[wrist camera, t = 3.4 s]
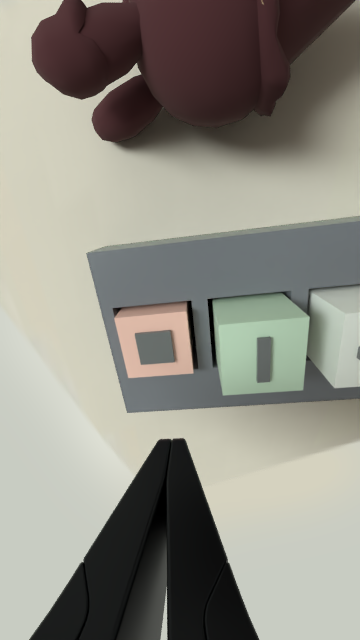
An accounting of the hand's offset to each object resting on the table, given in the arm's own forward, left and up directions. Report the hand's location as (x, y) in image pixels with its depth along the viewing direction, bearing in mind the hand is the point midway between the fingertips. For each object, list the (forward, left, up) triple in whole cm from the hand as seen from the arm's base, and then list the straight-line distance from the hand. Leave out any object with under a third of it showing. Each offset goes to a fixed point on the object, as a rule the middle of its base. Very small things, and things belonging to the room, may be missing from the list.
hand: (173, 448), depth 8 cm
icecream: (-3, -14, -11) cm, 18 cm away
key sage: (-4, 0, -8) cm, 9 cm away
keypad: (-4, 0, -11) cm, 11 cm away
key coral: (+2, 0, -11) cm, 11 cm away
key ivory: (-9, 0, -8) cm, 13 cm away
